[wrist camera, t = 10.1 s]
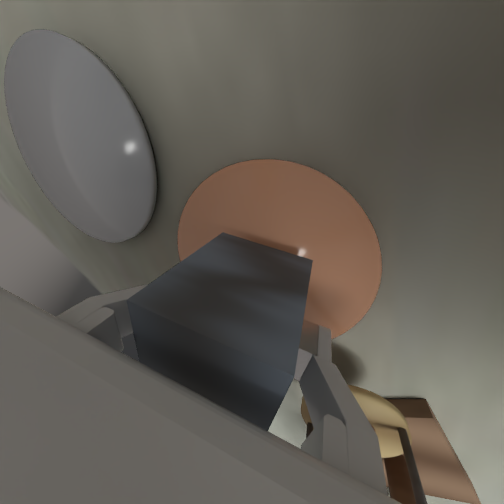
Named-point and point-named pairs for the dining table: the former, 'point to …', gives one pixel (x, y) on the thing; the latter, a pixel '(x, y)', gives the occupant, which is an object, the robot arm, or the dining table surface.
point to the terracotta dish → (293, 231)
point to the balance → (411, 449)
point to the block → (226, 324)
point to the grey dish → (80, 135)
